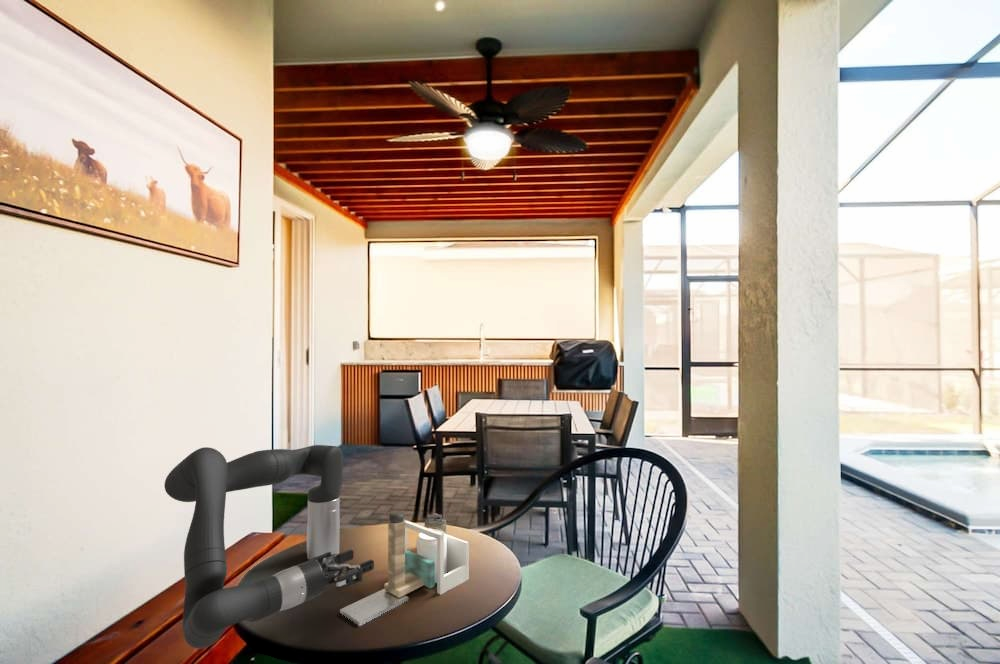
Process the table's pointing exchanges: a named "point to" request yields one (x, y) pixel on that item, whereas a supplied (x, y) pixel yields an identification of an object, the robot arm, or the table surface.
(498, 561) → the table surface
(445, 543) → the beverage can
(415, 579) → the kicker rod
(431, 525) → the lighter
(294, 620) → the table surface
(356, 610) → the white flat board
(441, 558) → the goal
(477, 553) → the table surface
